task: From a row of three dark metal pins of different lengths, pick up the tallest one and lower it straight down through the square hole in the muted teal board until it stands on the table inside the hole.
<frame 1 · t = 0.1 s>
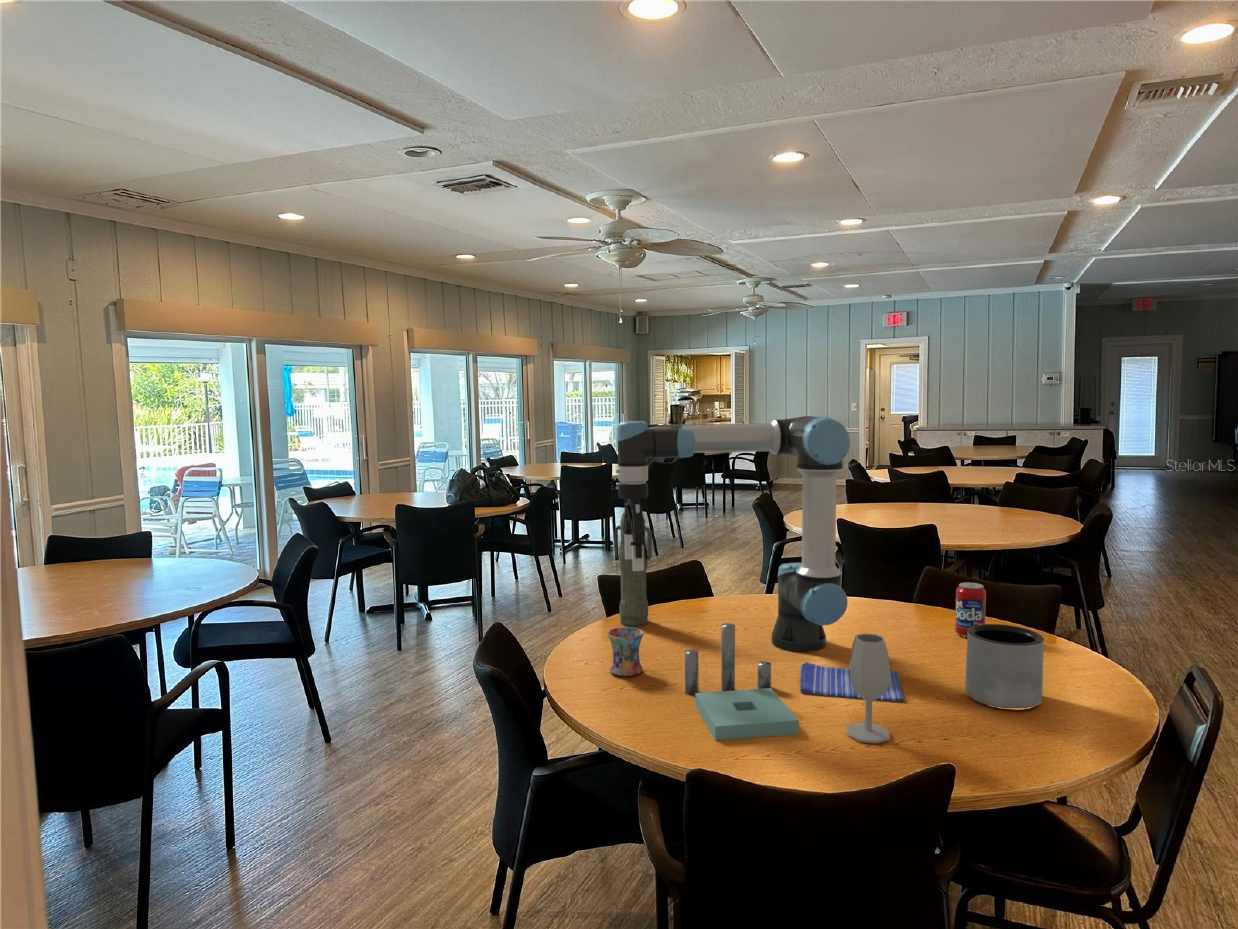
hand: (634, 564, 200), 28 cm above the table, fingers open, 13 cm apart
hole block: (744, 719, 172), on the table
thermos: (634, 623, 245), on the table
planter: (1002, 699, 181), on the table
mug: (628, 671, 203), on the table
long pin: (728, 689, 189), on the table
soda can: (969, 636, 227), on the table
wineglass: (868, 736, 164), on the table
dish towel: (849, 688, 191), on the table
medium pin: (691, 692, 188), on the table
short pin: (764, 687, 190), on the table
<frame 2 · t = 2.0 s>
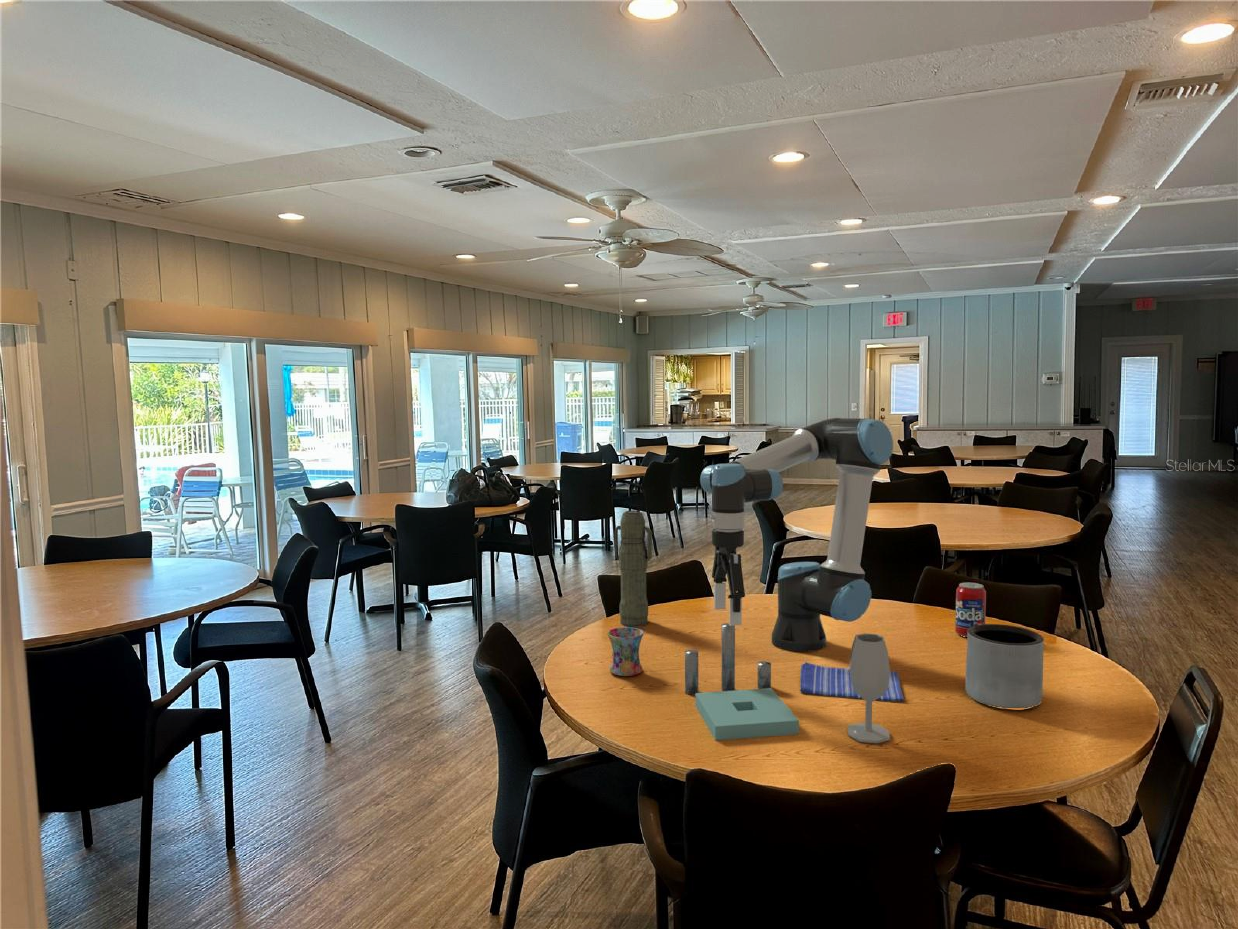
hand: (727, 617, 187), 18 cm above the table, fingers open, 13 cm apart
nothing on the table moved.
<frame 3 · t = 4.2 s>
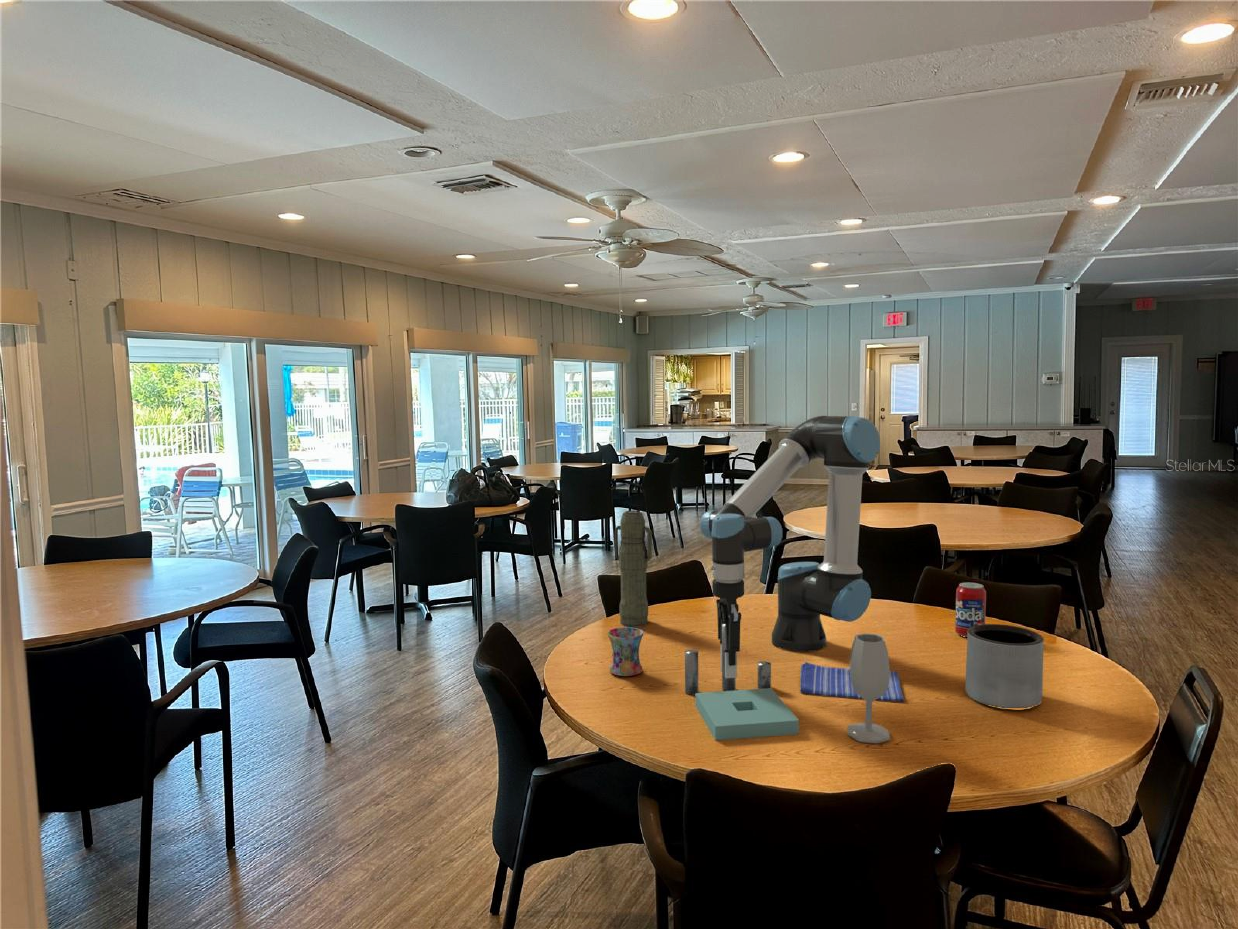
hand: (728, 674, 189), 4 cm above the table, fingers closed on long pin, 3 cm apart
long pin: (728, 688, 189), on the table, touching gripper
everything else where it was.
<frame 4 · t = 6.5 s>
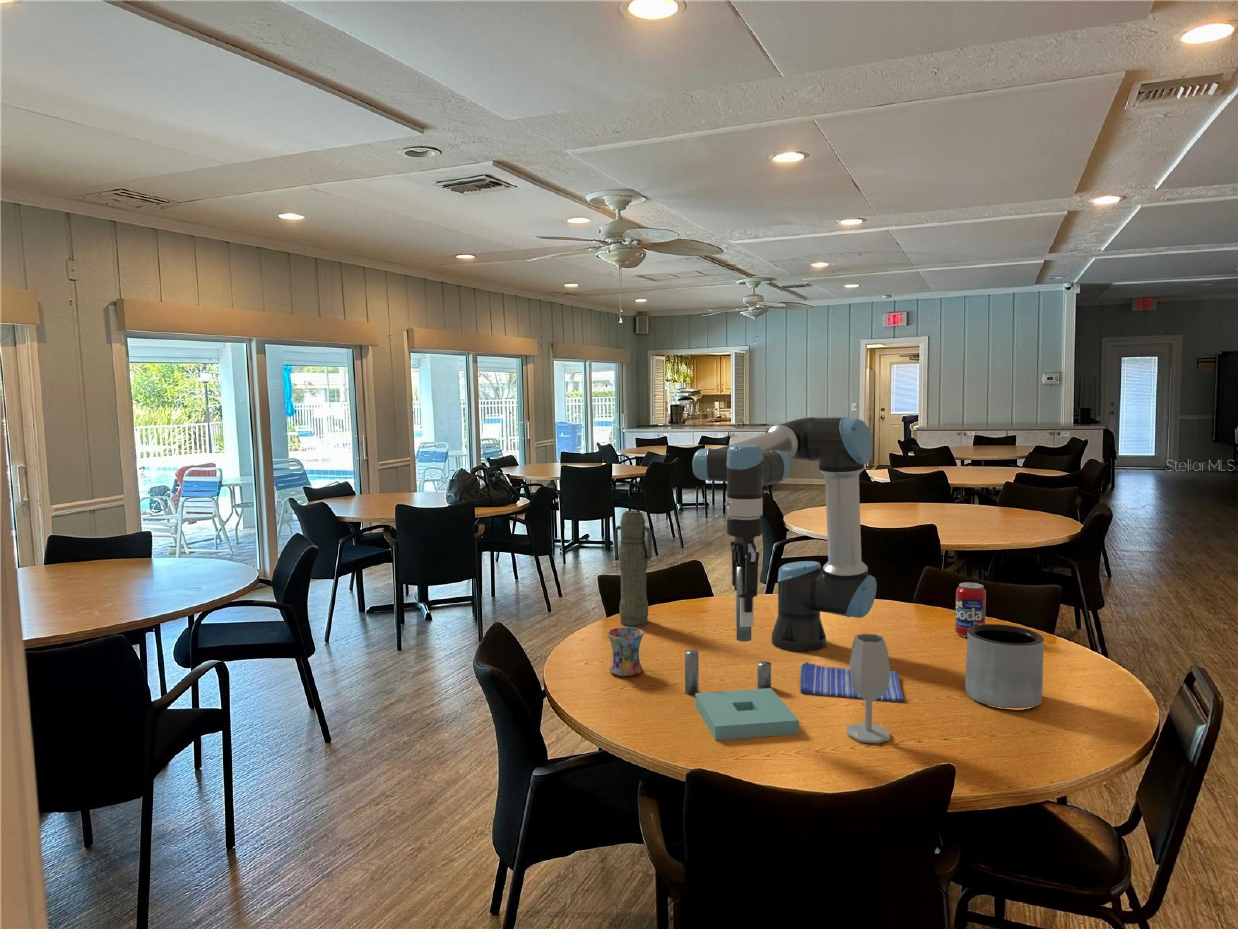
hand: (744, 623, 170), 22 cm above the table, fingers closed on long pin, 3 cm apart
long pin: (743, 639, 171), point 18 cm above the table, touching gripper
everything else where it was.
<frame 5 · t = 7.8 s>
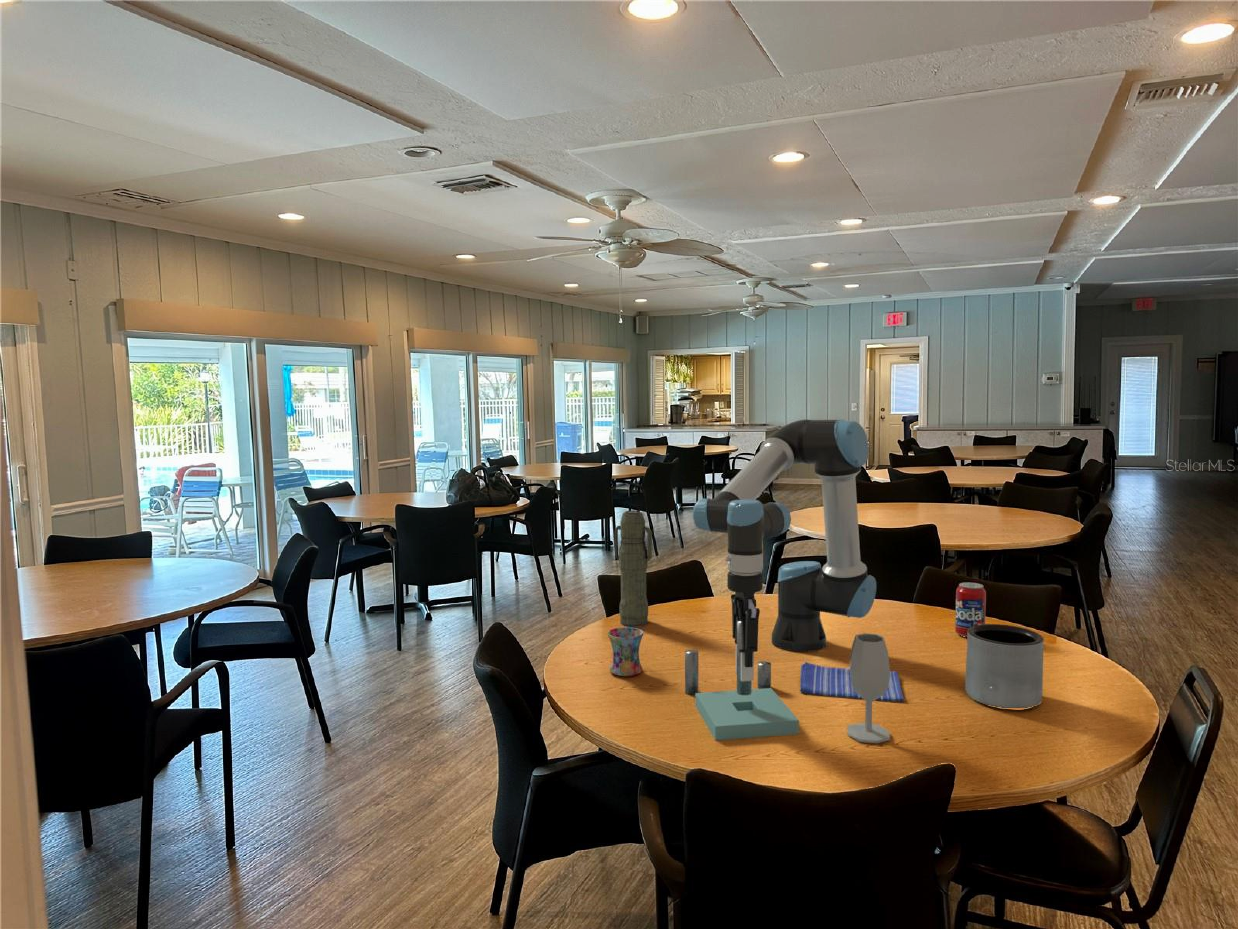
hand: (744, 676, 171), 10 cm above the table, fingers closed on long pin, 3 cm apart
long pin: (744, 692, 172), point 6 cm above the table, touching gripper
everything else where it was.
when the fingers open (5 cm above the table, at t = 9.1 s): long pin stays where it is, resting in hole block.
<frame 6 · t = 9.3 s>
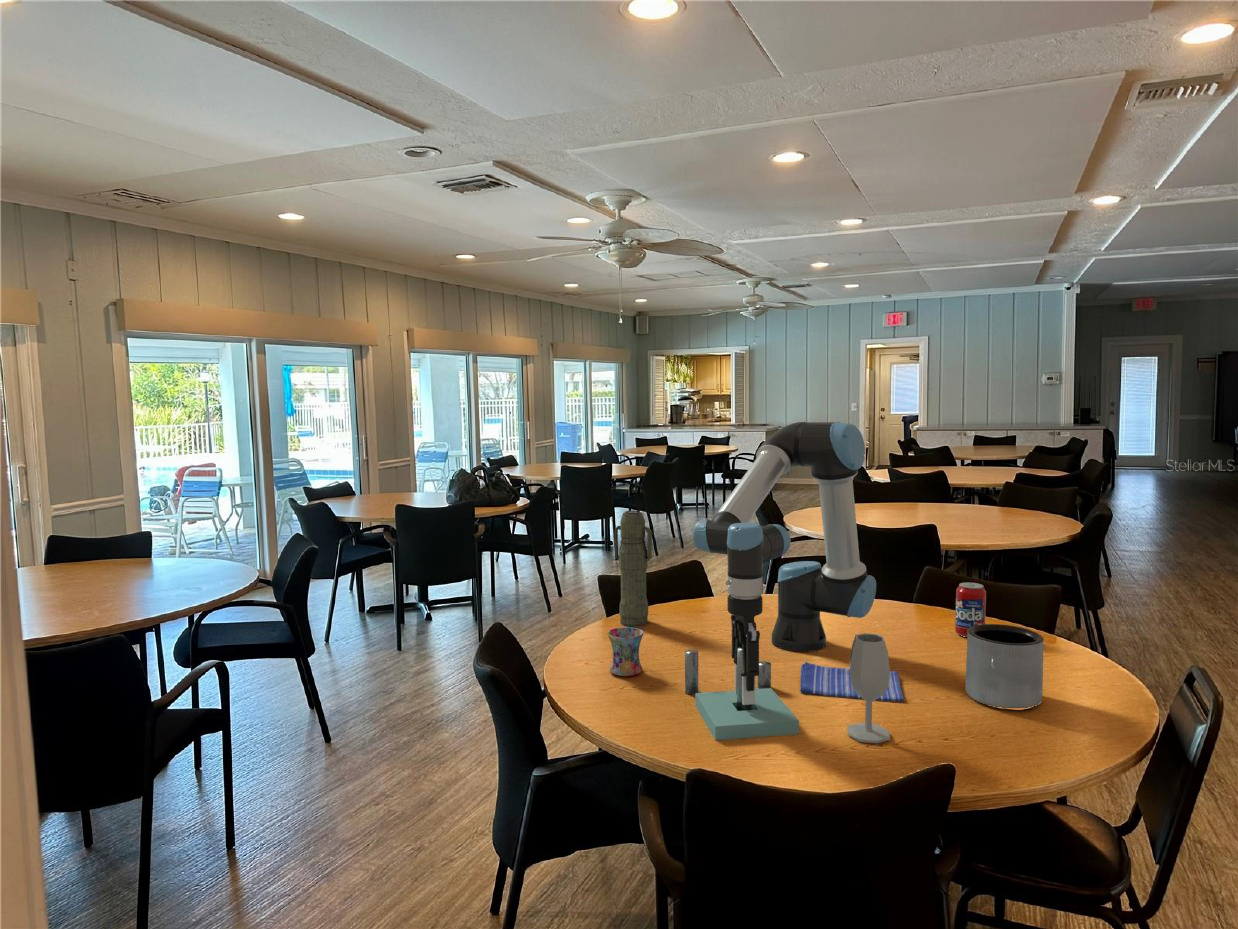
hand: (744, 698, 172), 5 cm above the table, fingers open, 5 cm apart
long pin: (744, 719, 172), resting in hole block
everything else where it was.
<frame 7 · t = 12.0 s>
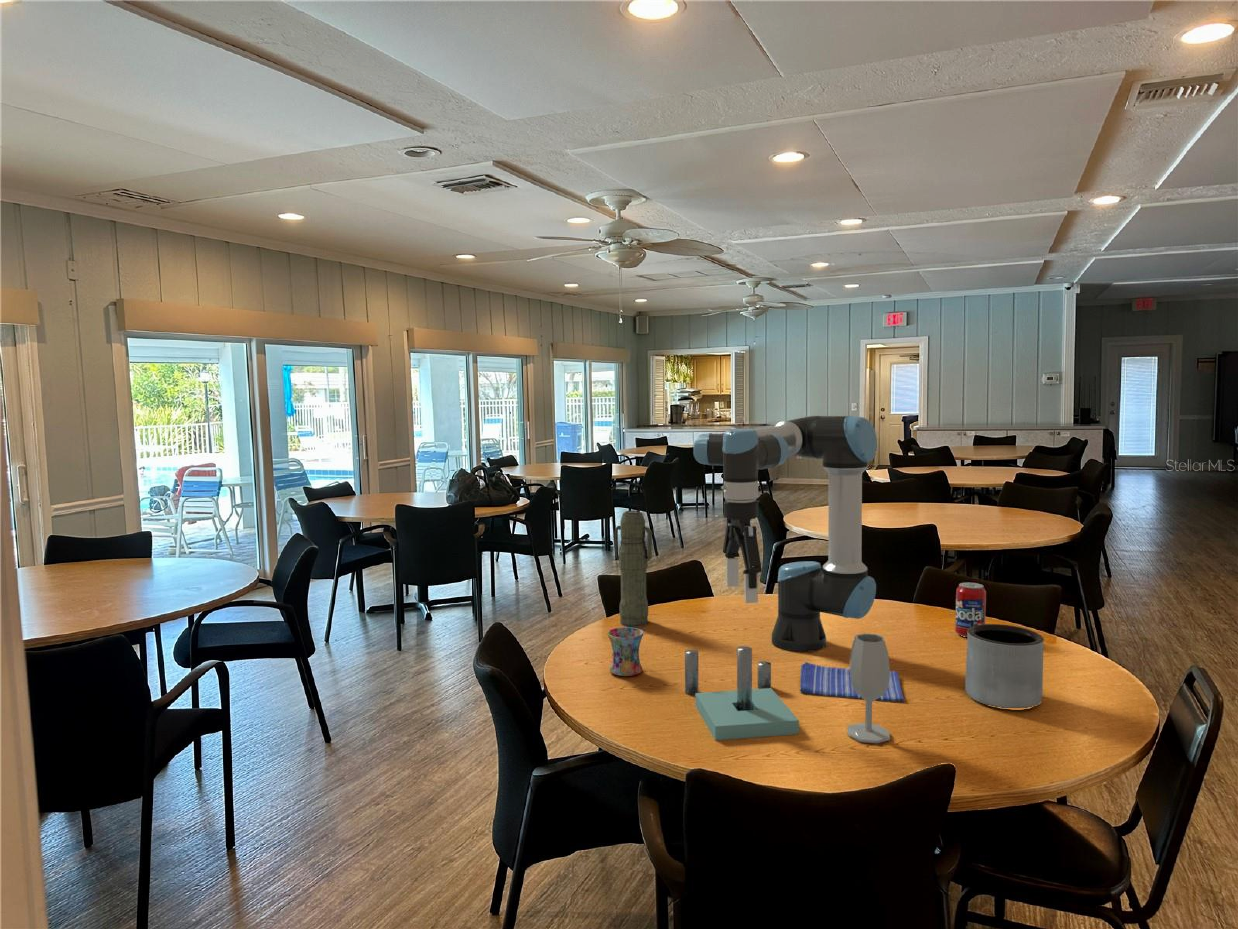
hand: (741, 594, 175), 27 cm above the table, fingers open, 13 cm apart
nothing on the table moved.
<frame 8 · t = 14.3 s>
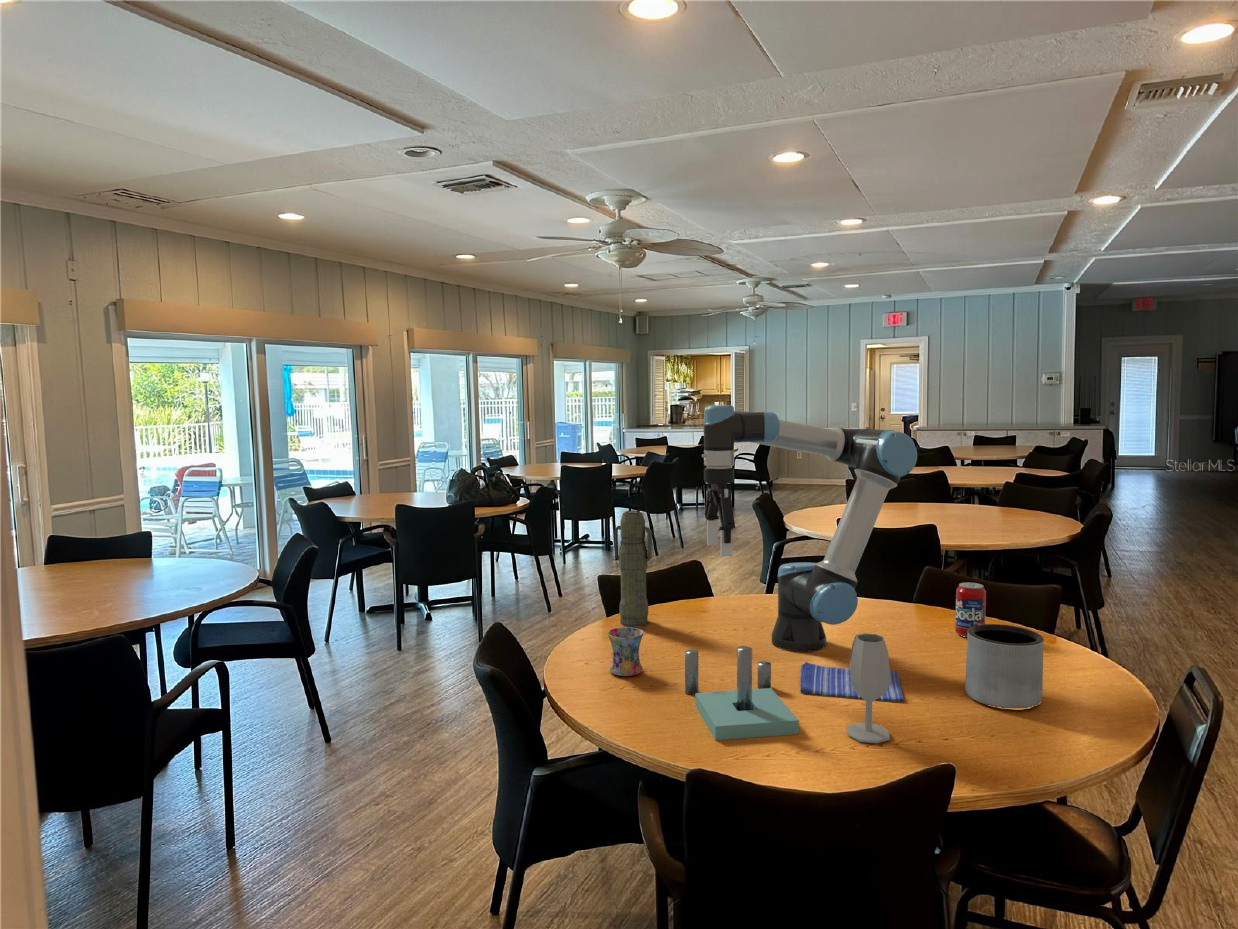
hand: (719, 550, 198), 32 cm above the table, fingers open, 13 cm apart
nothing on the table moved.
at the end: long pin 0.1 cm off-centre on the hole block, point 0.0 cm above the hole block's base; long pin tilted 0°; the gripper is holding nothing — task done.
